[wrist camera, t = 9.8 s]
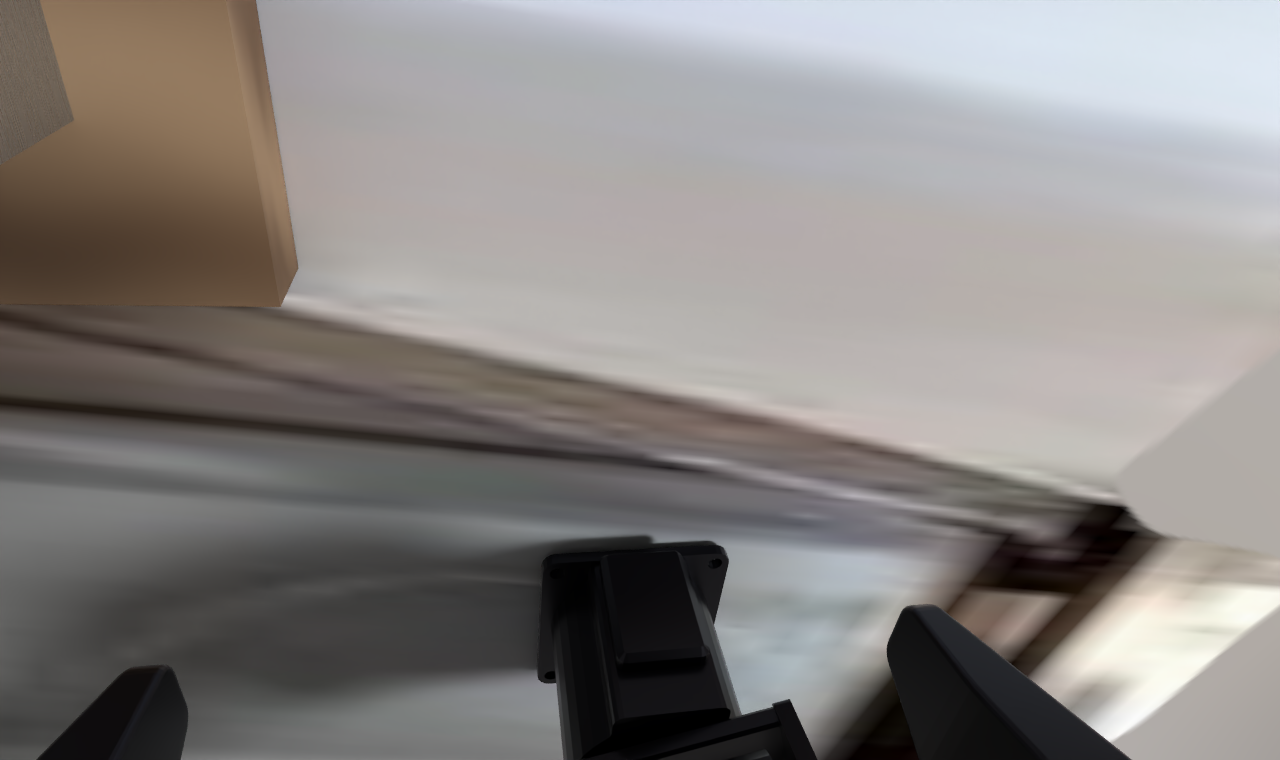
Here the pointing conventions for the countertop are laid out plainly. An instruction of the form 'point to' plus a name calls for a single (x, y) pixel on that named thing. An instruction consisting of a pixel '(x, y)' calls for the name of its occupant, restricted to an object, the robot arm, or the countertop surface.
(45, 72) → the block
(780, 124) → the countertop surface
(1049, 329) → the countertop surface
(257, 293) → the stand
